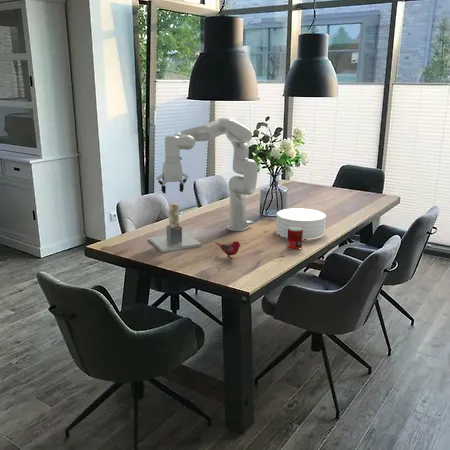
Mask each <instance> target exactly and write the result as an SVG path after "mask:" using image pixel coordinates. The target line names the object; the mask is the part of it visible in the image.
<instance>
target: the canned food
mask: <svg viewBox="0 0 450 450" xmlns="http://www.w3.org/2000/svg"><path fill="white" fill-rule="evenodd" d="M302 238H303V228H302V227H299V226H290V227H288V238H286V240H287V242H286V243H287V244H286V246H287V249H289V248H291V249H299V248H301V249H302V247H303V240H302ZM291 249H290V250H291Z"/></svg>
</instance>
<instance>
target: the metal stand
mask: <svg viewBox="0 0 450 450" xmlns="http://www.w3.org/2000/svg"><path fill="white" fill-rule="evenodd" d="M165 229H166V234H165V235H157V236H151V237H150V236H149V237H148V242H149V243H151V244H152V245H153V246H155V247H156V248H157V249H158V250H159V252H161V253H165V252H173V251H177V250H179V251H180V250H185V249H191V248H199V247H200V248H201V247H202V242H199V241H198V240H197V239H195V238H194V237H192V235H190V234H188V233H187V232H183V227H182V226H181V225H179V227H176V228H171V227H169V224H168V225H166V228H165Z"/></svg>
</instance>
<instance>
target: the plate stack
mask: <svg viewBox="0 0 450 450" xmlns="http://www.w3.org/2000/svg"><path fill="white" fill-rule="evenodd" d="M326 218H327V215H326V213H324V212H322V211H320V210H316V209H311V208H301V207H299V208H298V207H293V208H290V207H289V208H284V209H281V210H278V211H277V212H276V223H275V224H276V226H275V229H276V230H275V233H276V235H278V234H279V235H280V236H279V235H278V236H279V237H281V236H283V237H282V238H284V237H287V238H288V227H290V226H299V227H302V228H303V238H302V239H309V238H310V239H311V238H316V237H318V236H321V235H322V234H323V233H324V232H325V231H326ZM287 238H286V239H287Z"/></svg>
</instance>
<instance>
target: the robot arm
mask: <svg viewBox="0 0 450 450" xmlns="http://www.w3.org/2000/svg"><path fill="white" fill-rule="evenodd" d="M221 135H226V138H227V139H228V141H230V143H231V144H232V146H233V158H232V159H233V160H232V170H233V172H234V173H236V174H238V175H233V176H231V177H230V179H229V180H228V182H227V183H228V191H229V224H228V225H227V226H226V229H227V230H228V231H232V232H245V231H247V230H248V229H249V225H253V224H254V221H252V220H247V219H246V218H247V217H246V216H247V215H246V213H247V197H246V196H251V195H253V194H254V193H255V191H256V187H257V181H258V172H259V170H258V169H259V168H258V164H257V162H256V161H255V160H254V159H251V158H249V151H250V150H249V149H250V148H249V145H248V143H250V142H251V140H252V138H253V133H252V130H250V129H249V128H248V127H247V126H245V125H243V124H242V123H240V122H238V121H237V120H235V119H233V118H224V117H220V118H218V119H217V118H216V119H215V120H212V121H210V122H207V123H205V124H203V125H199V126H198V125H197V126H195V127H191V128H188V129H184V130H182V131H179V132H177V133H175V134H174V135H171V134H170V135H166V136H165V138H164V161H163V164H162V170H161V174H159V175H158V176H156V177H155V179H156V180H157V182H158V183H159V184H160V186H161V192H162V194H166V187H167V186H166V184H167V183H176V182H179V192H180V193H183V192H184V185H185V184H186V182H187V180H188V178H189V175H188V174H185V173H184V172H183V167H182V162H181V161H182V160H183V157H182V156H180V155H181V153H180V152H181V151H180V150H184V151H185V150H186V151H187V150H192V149H193V148H194V147H195V146H196V142H205V141H207V142H208V141H210V140H213V139H215V138H217V137H220V136H221ZM241 175H242V176H241Z"/></svg>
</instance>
